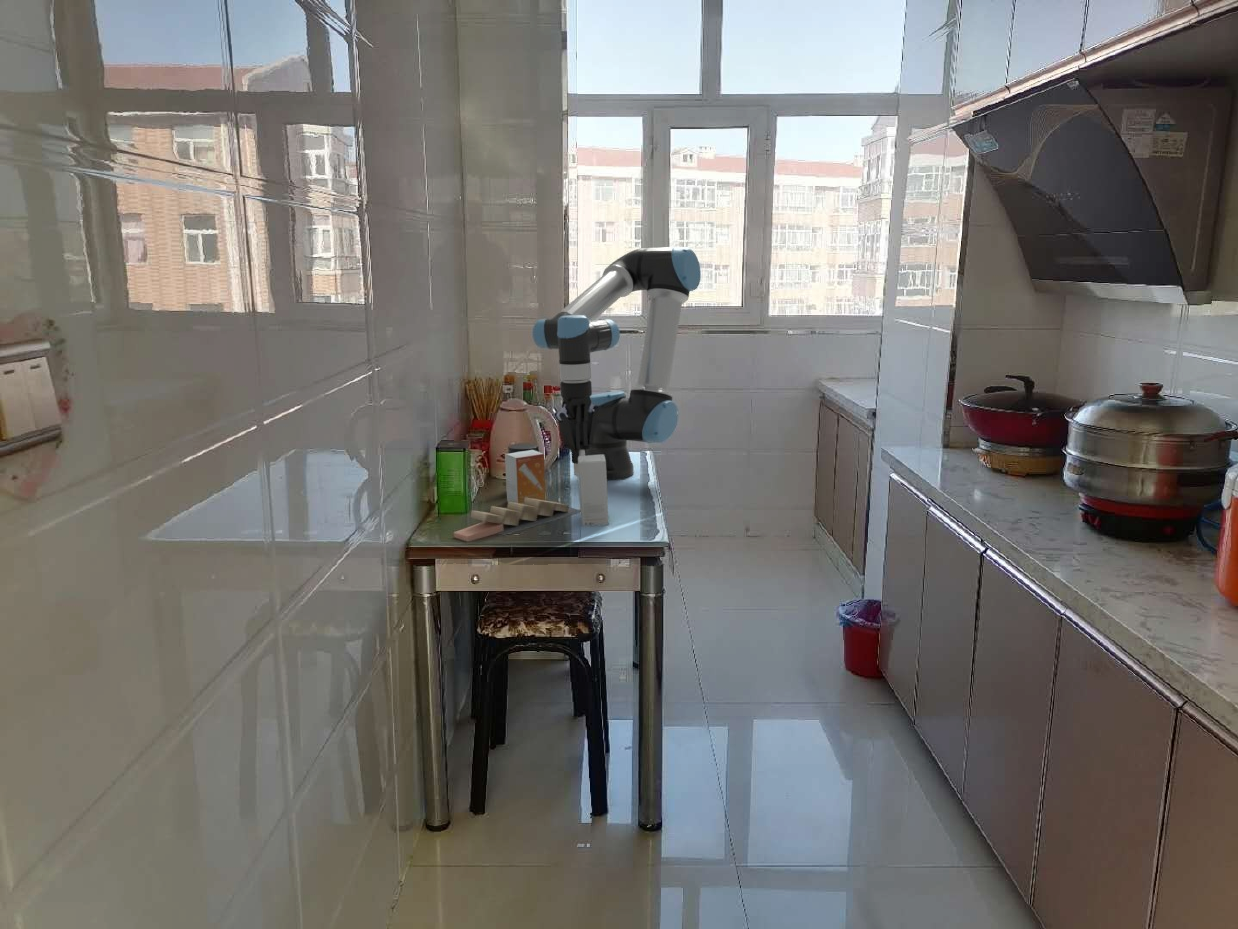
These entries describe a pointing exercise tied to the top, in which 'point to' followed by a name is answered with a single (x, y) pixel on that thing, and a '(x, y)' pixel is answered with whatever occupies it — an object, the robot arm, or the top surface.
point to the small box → (525, 476)
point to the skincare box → (593, 490)
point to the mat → (537, 521)
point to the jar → (522, 447)
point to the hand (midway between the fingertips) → (580, 475)
